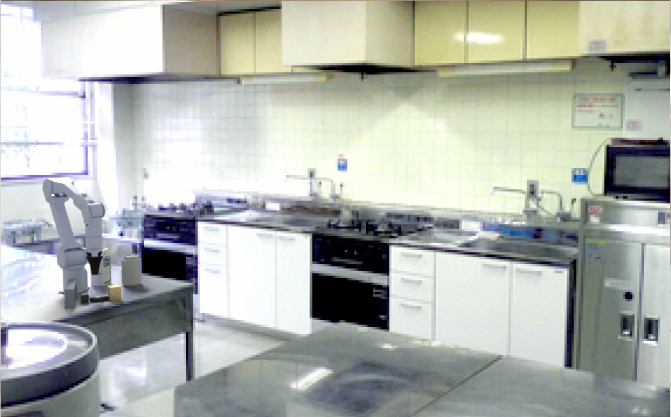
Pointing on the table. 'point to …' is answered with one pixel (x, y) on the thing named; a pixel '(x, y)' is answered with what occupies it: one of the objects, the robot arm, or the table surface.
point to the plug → (113, 295)
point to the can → (131, 270)
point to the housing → (70, 293)
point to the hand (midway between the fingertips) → (94, 272)
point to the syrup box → (103, 270)
